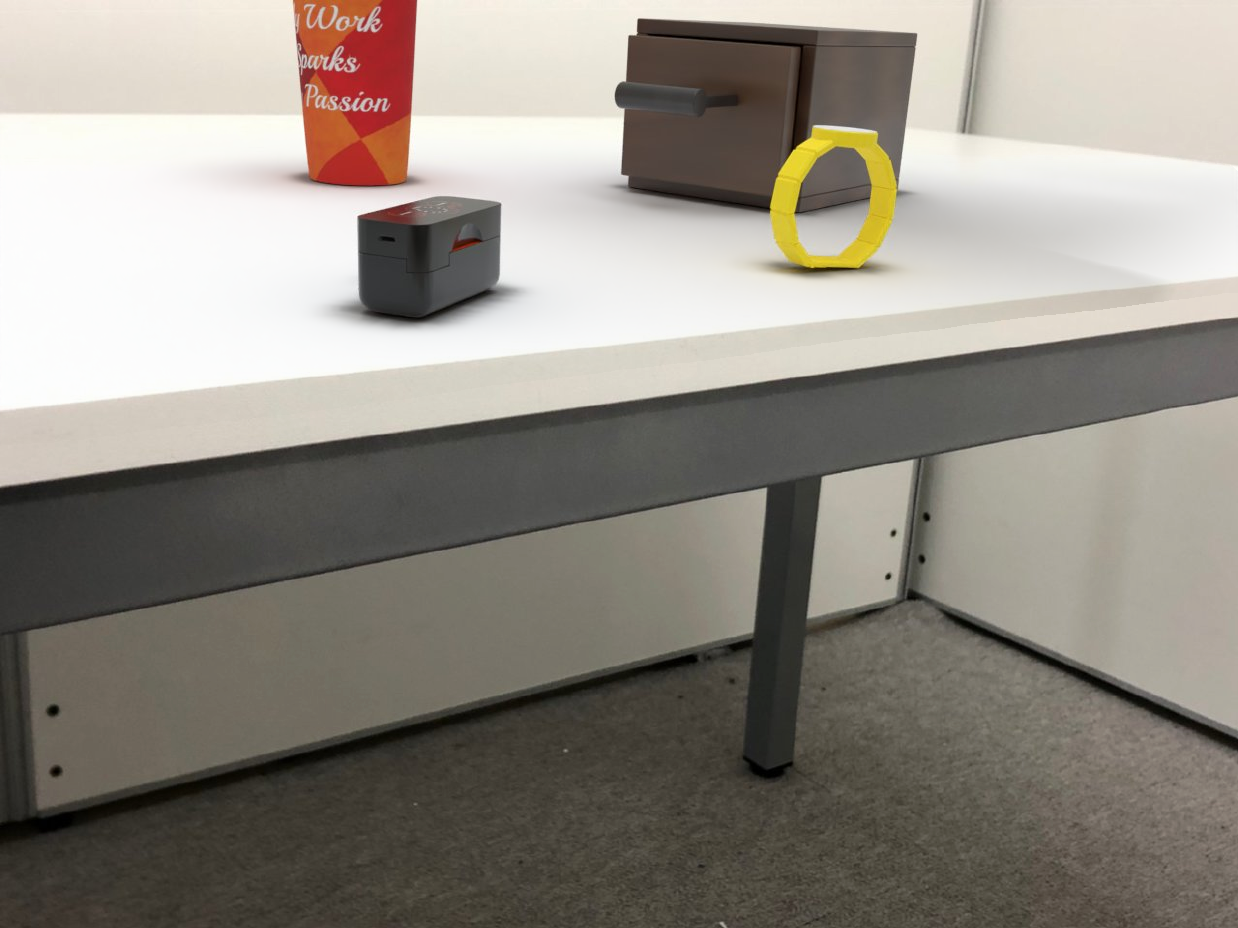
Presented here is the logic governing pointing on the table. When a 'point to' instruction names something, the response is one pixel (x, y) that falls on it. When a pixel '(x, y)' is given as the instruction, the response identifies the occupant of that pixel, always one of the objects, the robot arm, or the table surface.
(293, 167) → the table surface
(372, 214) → the wireless earbuds
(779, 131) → the drawer
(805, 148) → the watch
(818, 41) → the cabinet
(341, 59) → the paper cup
